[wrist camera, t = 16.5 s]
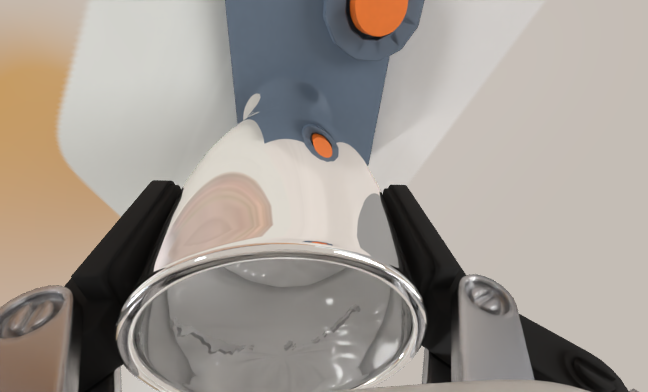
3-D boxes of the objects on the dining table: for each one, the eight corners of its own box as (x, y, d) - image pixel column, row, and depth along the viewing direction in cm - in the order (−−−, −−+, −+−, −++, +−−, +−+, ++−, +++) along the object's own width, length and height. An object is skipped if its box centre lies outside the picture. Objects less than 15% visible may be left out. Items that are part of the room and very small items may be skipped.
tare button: (392, 36, 17) (401, 39, 16) (346, 32, 17) (351, 34, 15) (403, -23, 16) (414, -27, 14) (353, -29, 15) (359, -34, 14)
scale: (374, 159, 25) (383, 175, 23) (243, 155, 24) (238, 172, 21) (416, -45, 17) (437, -55, 15) (222, -71, 16) (209, -87, 13)
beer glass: (316, 48, 16) (402, 168, 3) (353, 148, 20) (455, 373, 7) (214, 96, 17) (-6, 324, 4) (268, 182, 21) (231, 433, 8)
